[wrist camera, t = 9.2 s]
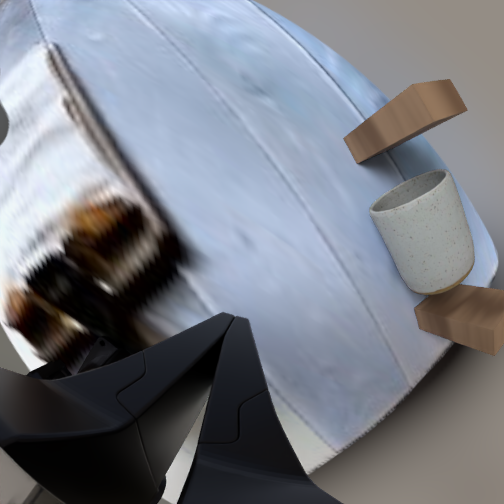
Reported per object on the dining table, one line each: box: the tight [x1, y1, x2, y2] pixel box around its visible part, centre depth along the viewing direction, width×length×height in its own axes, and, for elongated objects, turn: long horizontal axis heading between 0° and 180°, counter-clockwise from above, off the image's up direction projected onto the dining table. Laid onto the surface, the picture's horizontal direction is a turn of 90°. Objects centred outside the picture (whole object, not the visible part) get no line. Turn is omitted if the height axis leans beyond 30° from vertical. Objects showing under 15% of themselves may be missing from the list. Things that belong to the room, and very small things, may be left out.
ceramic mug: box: [369, 169, 475, 295], centre depth 19 cm, size 11×8×8 cm
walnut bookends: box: [343, 79, 504, 356], centre depth 18 cm, size 5×20×10 cm, turn 27°
